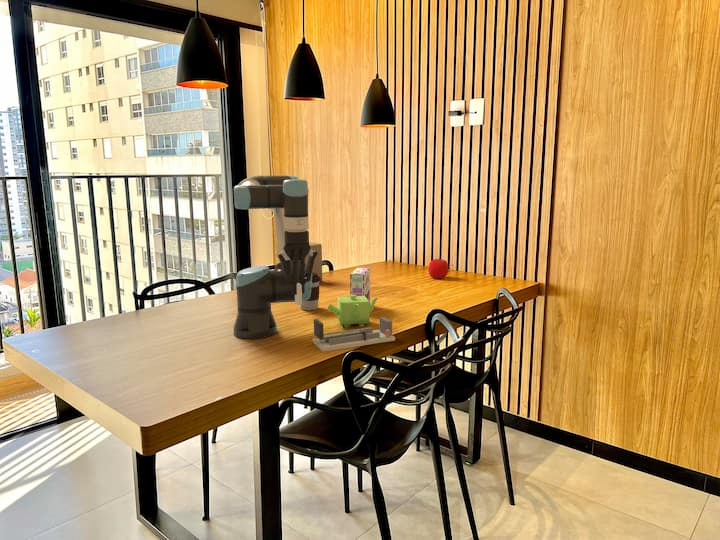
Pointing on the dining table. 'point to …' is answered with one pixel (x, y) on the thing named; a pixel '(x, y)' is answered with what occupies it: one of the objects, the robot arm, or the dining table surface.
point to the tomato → (438, 268)
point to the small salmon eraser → (387, 333)
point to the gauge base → (358, 337)
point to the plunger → (325, 338)
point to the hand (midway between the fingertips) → (298, 303)
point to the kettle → (353, 310)
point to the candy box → (360, 282)
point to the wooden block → (318, 260)
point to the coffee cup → (312, 294)
